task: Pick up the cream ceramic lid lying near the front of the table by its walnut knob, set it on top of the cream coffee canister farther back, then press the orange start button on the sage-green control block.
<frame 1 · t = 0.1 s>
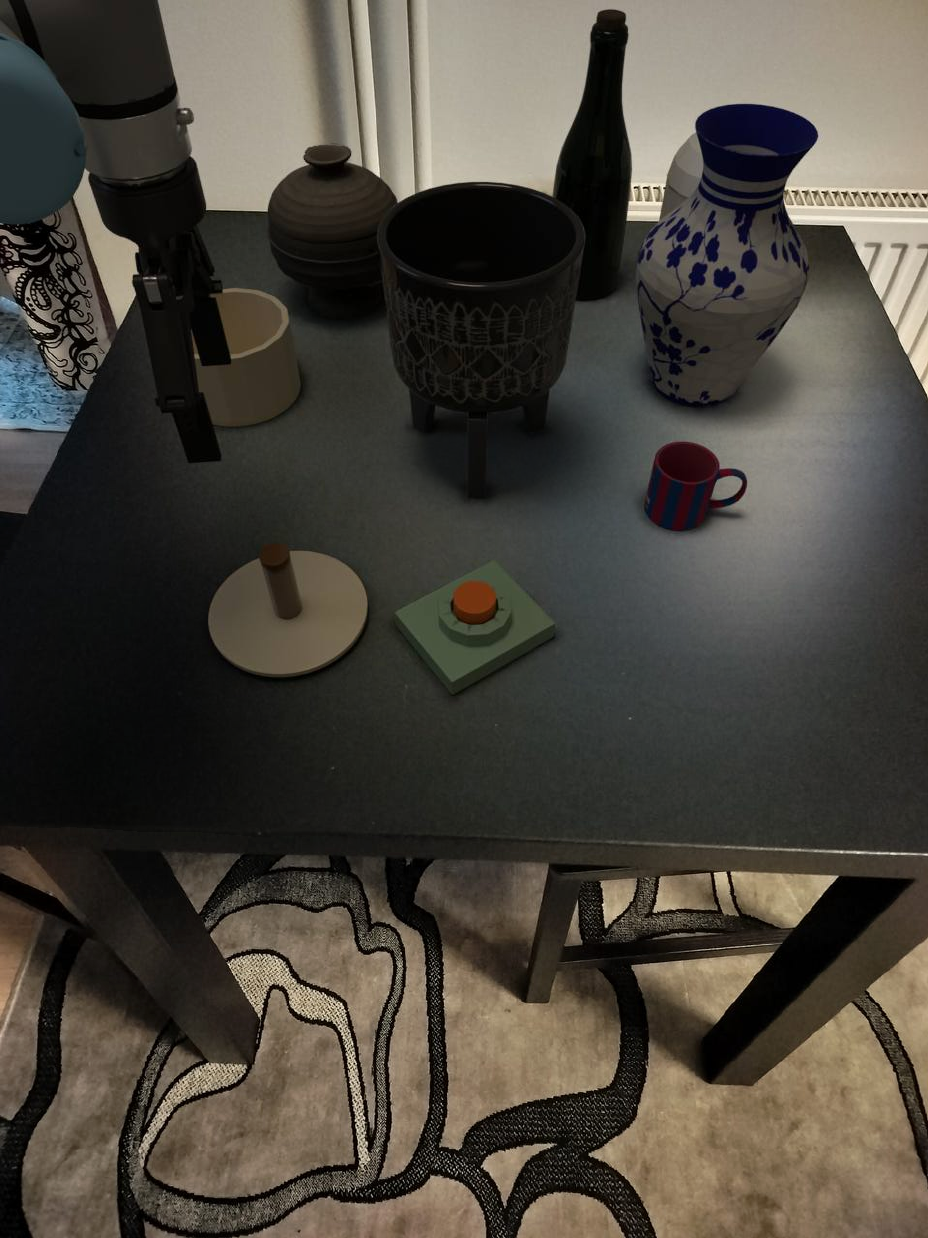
hand: (211, 408, 77), 18 cm above the table, tool pointing down, fingers open, 13 cm apart
pot: (344, 298, 121), on the table
planter: (478, 449, 101), on the table
container: (696, 275, 125), on the table
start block: (474, 631, 84), on the table
canister: (242, 389, 108), on the table
cup: (689, 513, 95), on the table
vase: (693, 381, 109), on the table
start button: (474, 602, 81), point 4 cm above the table, slide at 0.1 cm
wine bottle: (581, 282, 123), on the table
lid: (289, 612, 85), point 1 cm above the table
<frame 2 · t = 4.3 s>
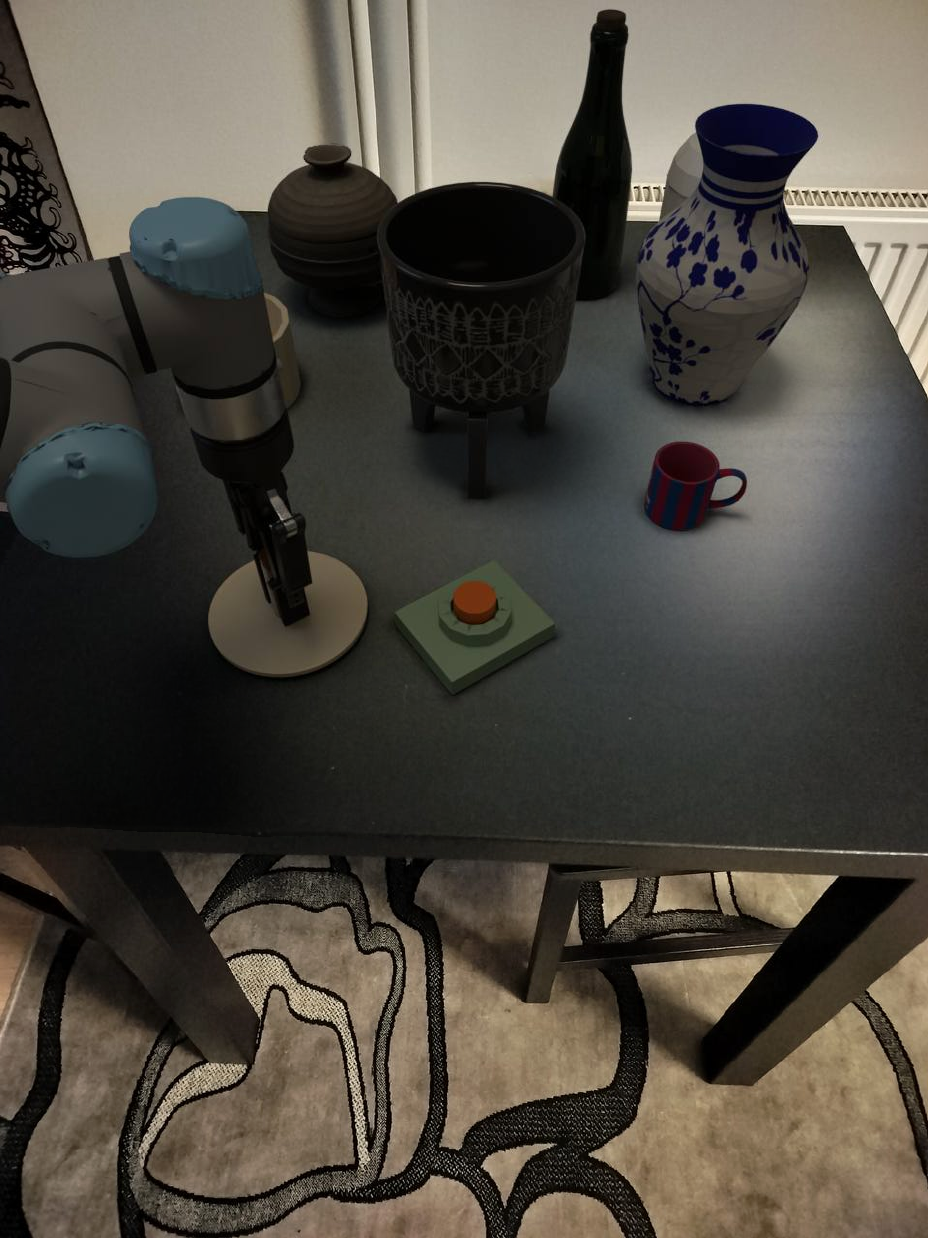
hand: (287, 606, 84), 2 cm above the table, tool pointing down, fingers closed on lid, 3 cm apart
lid: (289, 612, 85), point 1 cm above the table, touching gripper
everything else where it was.
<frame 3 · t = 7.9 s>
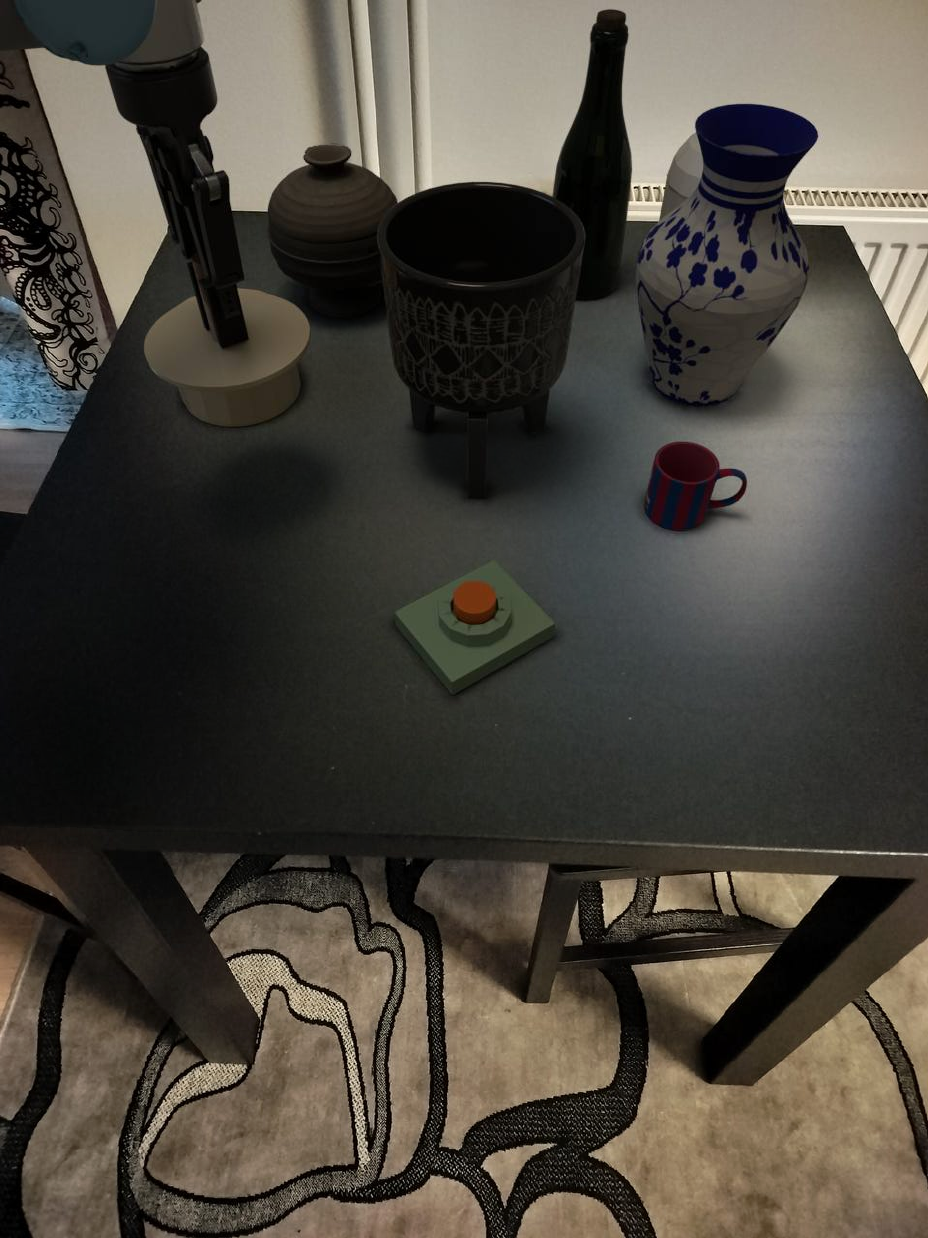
hand: (226, 332, 81), 20 cm above the table, tool pointing down, fingers closed on lid, 3 cm apart
lid: (229, 341, 82), point 19 cm above the table, touching gripper
everything else where it was.
when the fingers open (10 cm above the table, at t = 11.9 s): lid stays where it is, resting on canister.
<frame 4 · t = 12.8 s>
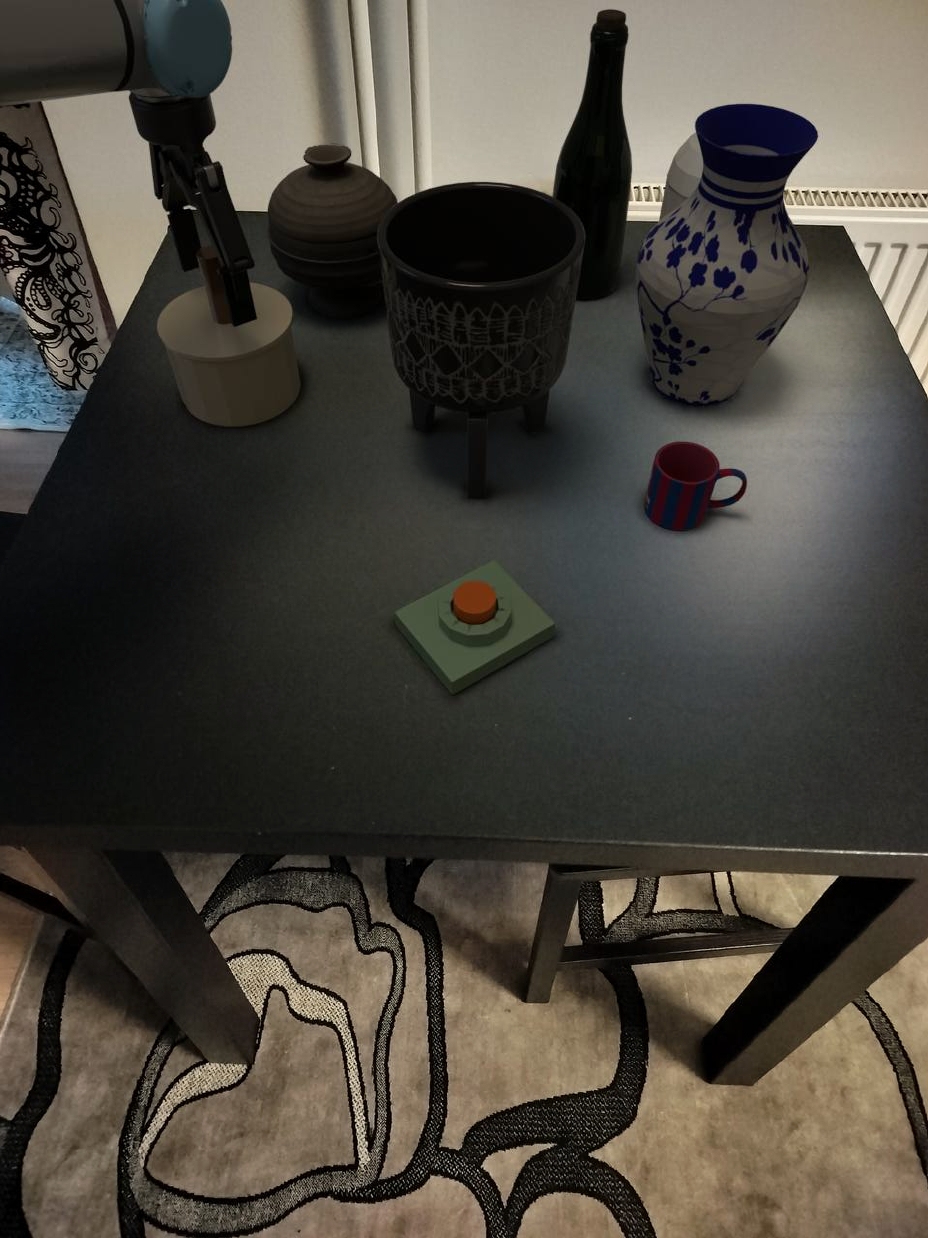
hand: (218, 293, 98), 13 cm above the table, tool pointing down, fingers open, 13 cm apart
lid: (226, 321, 101), point 9 cm above the table, touching canister
everything else where it was.
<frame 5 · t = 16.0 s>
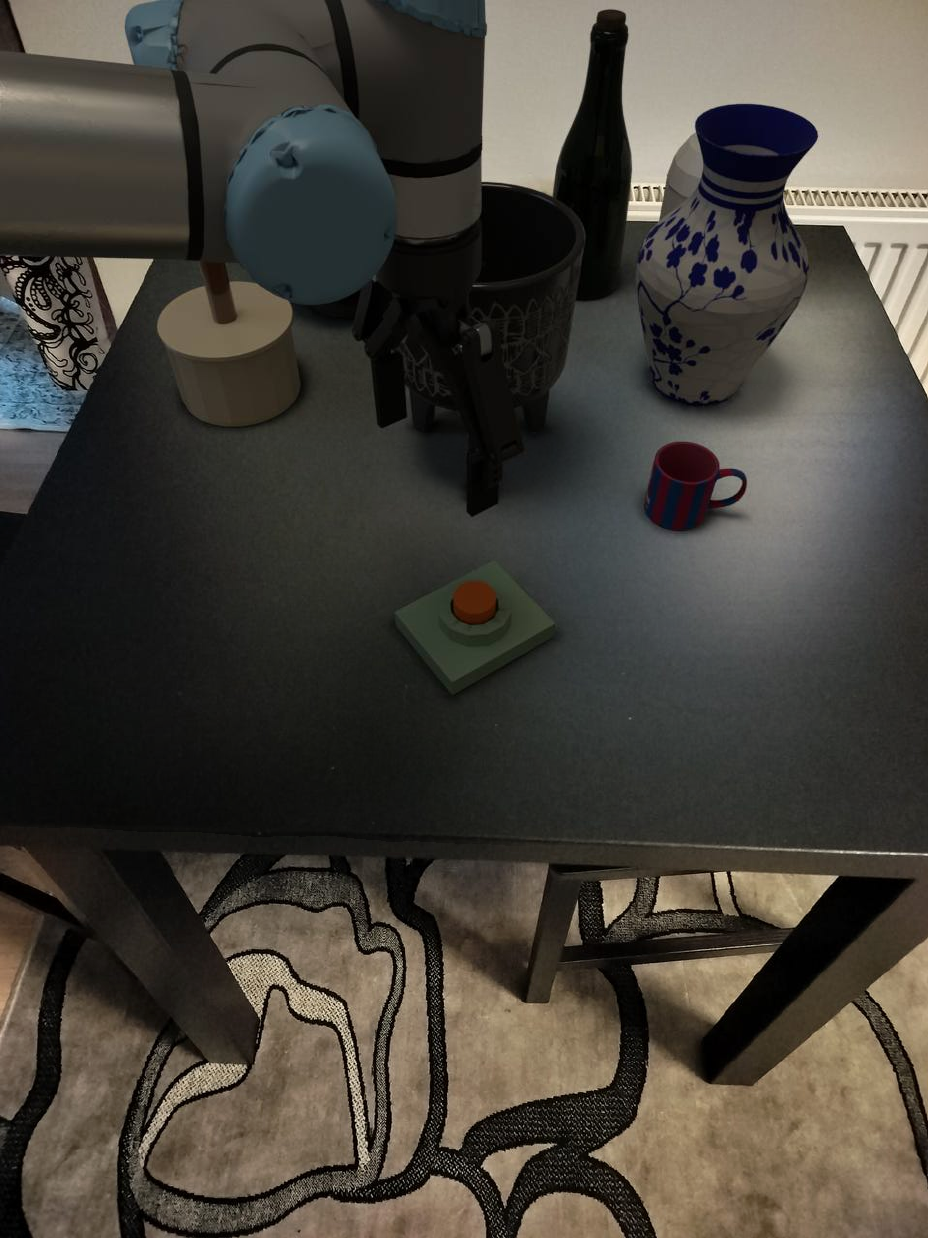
hand: (435, 462, 73), 18 cm above the table, tool pointing down, fingers open, 13 cm apart
nothing on the table moved.
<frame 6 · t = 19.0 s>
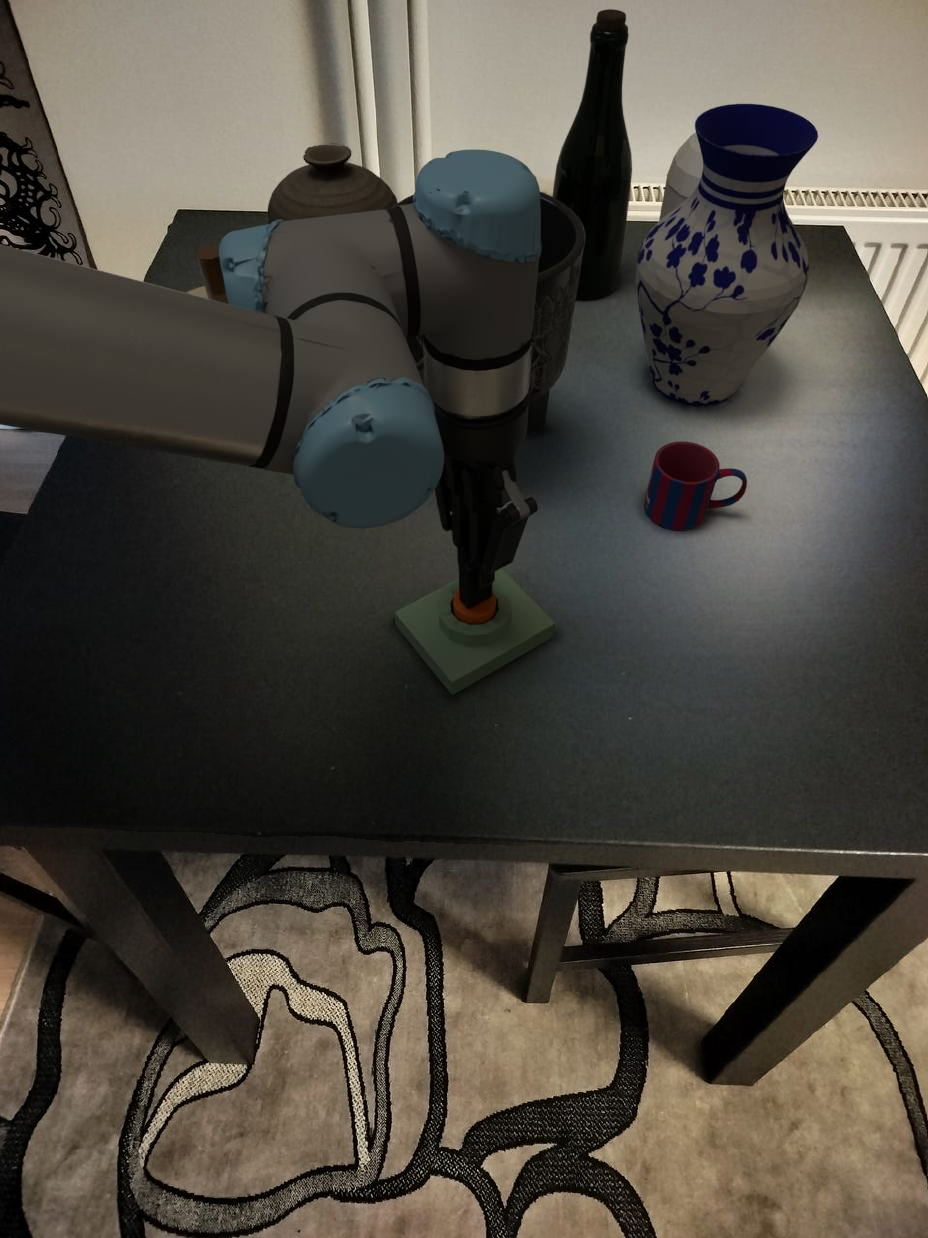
hand: (475, 597, 80), 5 cm above the table, tool pointing down, fingers closed
start button: (474, 605, 81), point 4 cm above the table, slide at -0.4 cm, touching gripper
everything else where it was.
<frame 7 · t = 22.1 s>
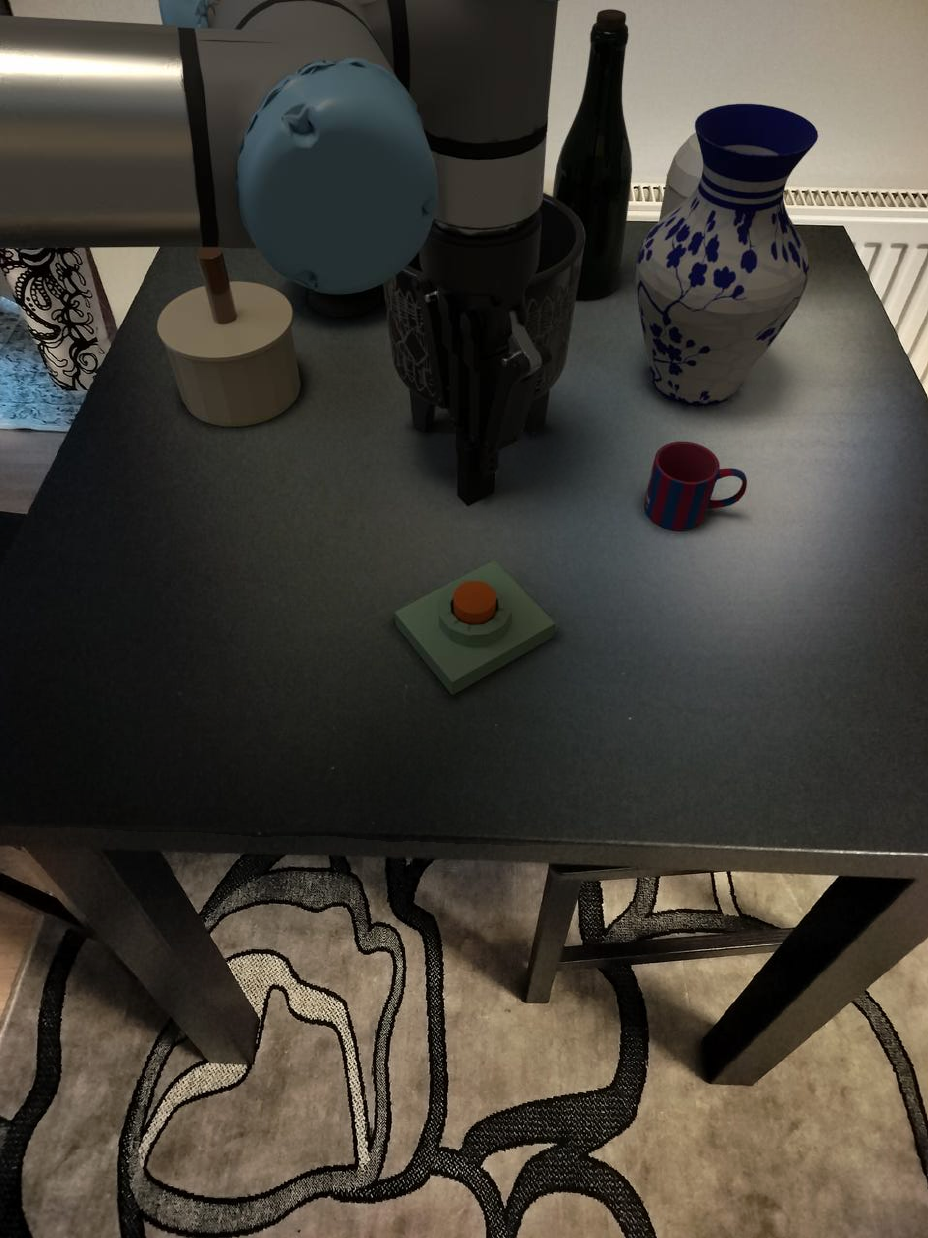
hand: (476, 494, 70), 18 cm above the table, tool pointing down, fingers closed
start button: (474, 602, 81), point 4 cm above the table, slide at 0.1 cm
everything else where it was.
at the end: lid 0.1 cm off-centre on the canister, point 9.5 cm above the canister's base; lid tilted 0°; start button pushed in 1.0 cm at the most during the clip, back to where it started at the end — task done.
